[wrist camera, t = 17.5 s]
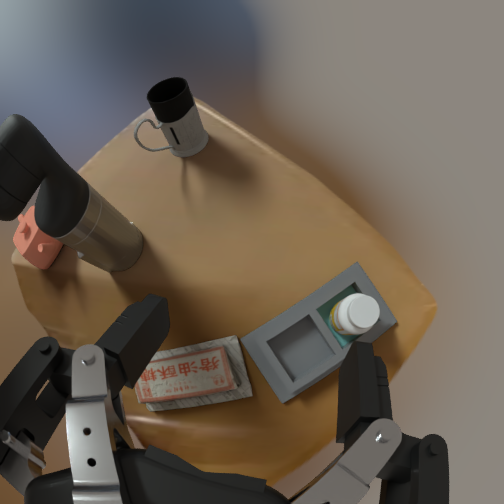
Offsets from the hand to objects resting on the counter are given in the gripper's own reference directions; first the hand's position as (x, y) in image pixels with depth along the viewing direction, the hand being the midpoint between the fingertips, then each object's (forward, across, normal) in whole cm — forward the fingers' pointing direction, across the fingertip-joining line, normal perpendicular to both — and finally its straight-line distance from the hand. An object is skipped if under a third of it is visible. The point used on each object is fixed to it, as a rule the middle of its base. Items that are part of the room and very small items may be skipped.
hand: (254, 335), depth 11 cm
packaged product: (+15, +10, +29) cm, 34 cm away
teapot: (+25, +50, +18) cm, 59 cm away
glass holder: (+44, +25, 0) cm, 51 cm away
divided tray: (+23, -8, +20) cm, 32 cm away
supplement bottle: (+25, -11, +18) cm, 32 cm away
